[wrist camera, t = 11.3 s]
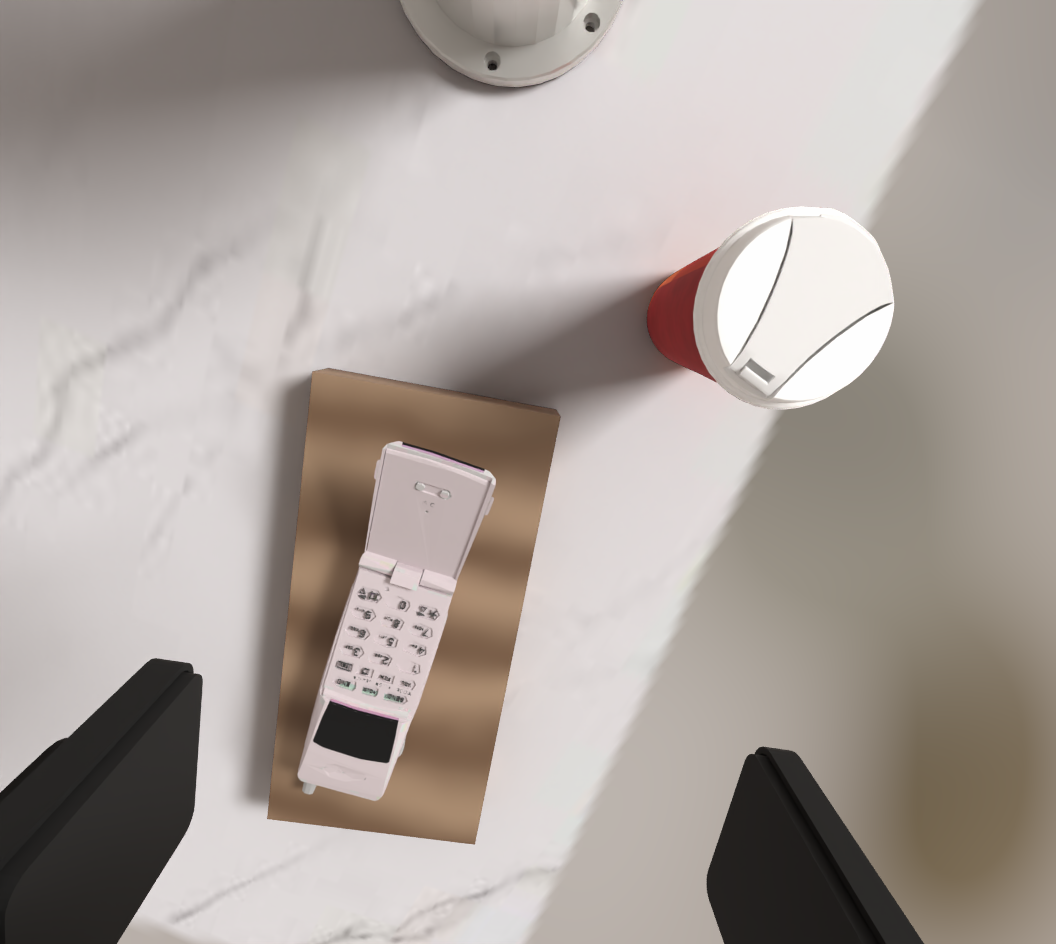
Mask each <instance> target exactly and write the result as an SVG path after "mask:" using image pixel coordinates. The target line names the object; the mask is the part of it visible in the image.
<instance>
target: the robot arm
mask: <svg viewBox="0 0 1056 944" xmlns="http://www.w3.org/2000/svg"><path fill="white" fill-rule="evenodd" d="M400 2H401V5H402V7H403V10H404V12H405V14H406V16H407V18H408V19H409V21H410V23H411V24H412V26H413V28H414V29H415V31H416V33H417V34H418V36H419V37H420V38H421V39H422V40H423V42H424V43H425V44H426V45H427V46H428V47H429V48H430V50H431V51H432V52H433V53H434V54H435V55H436V56H437V57H439V58H440V59H441V60H442V61H444V62H445V63H446V64H447V65H449V66H450V67H451V68H453V69H454V70H456V71H458V72H460V73H462V74H464V75H466V76H468V77H470V78H471V79H473V80H477V81H480V82H484V83H487V84H491V85H494V86H506V87H522V86H529V85H535V84H540V83H543V82H546V81H548V80H551V79H553V78H556V77H559V76H561V75H562V74H564V73H566V72H567V71H569V70H570V69H572V68H573V67H575V66H576V65H578V64H580V63H581V62H582V61H583V60H584V59H585V58H586V57H587V56H588V55H589V54H590V53H591V52H592V51H593V50H594V49H595V48H596V47H597V46H598V44H599V43H600V42H601V40H602V39H603V37H604V36H605V35H606V33H607V32H608V30H609V29H610V28H611V26H612V24H613V21H614V19H615V17H616V15H617V13H618V11H619V9H620V7H621V5H622V2H623V0H400ZM587 26H591V27H593V29H594V32H589V31H587V30H586V29H585V28H586V27H587ZM493 63H494V64H495V65H496V66H497V69H496V70H489V69H488V66H489V65H490V64H493ZM202 684H203V681H202V676H201V675H200V674H194V673H193V667H192V665H191V664H190V663H184V662H177V661H170V660H163V659H157V658H155V659H151V660H150V661H148V662H147V663H146V664H145V665H144V666H143V667H142V668H141V669H140V670H139V671H137V672H136V673H135V674H134V675H133V676H132V677H131V678H130V679H129V680H128V681H127V682H126V683H125V684H124V685H123V686H122V687H121V688H120V689H119V690H118V691H117V692H116V693H114V694H113V695H112V696H111V697H110V698H109V699H108V700H107V701H106V702H105V703H104V704H103V705H102V706H101V707H100V708H99V709H98V710H97V711H96V712H95V713H94V714H92V715H91V716H90V717H89V718H88V719H87V720H86V721H85V722H84V723H83V724H82V725H81V726H80V727H79V728H78V729H77V730H76V731H75V732H74V733H73V734H72V735H71V736H69V737H68V738H64V739H61V740H59V741H57V742H55V743H54V744H53V745H51V746H50V747H49V748H47V749H46V750H45V751H44V752H43V753H42V754H41V755H40V756H39V757H38V758H37V759H36V760H35V761H34V762H32V763H31V764H30V765H29V766H28V767H27V768H26V769H25V770H24V771H23V772H22V773H21V774H20V775H19V776H17V777H16V778H15V779H14V780H13V781H12V782H11V783H10V784H9V785H8V786H7V787H6V788H5V789H4V790H3V791H1V792H0V944H117V942H118V941H119V939H120V938H121V936H122V934H123V933H124V931H125V930H126V928H127V926H128V925H129V923H130V922H131V920H132V918H133V917H134V915H135V914H136V912H137V910H138V909H139V907H140V906H141V904H142V902H143V901H144V899H145V898H146V896H147V894H148V893H149V891H150V890H151V888H152V886H153V885H154V883H155V882H156V880H157V878H158V877H159V875H160V874H161V872H162V870H163V869H164V867H165V866H166V864H167V862H168V861H169V859H170V858H171V856H172V854H173V853H174V851H175V850H176V848H177V846H178V845H179V843H180V842H181V840H182V838H183V837H184V835H185V833H186V831H187V829H188V827H189V825H190V822H191V819H192V816H193V812H194V806H195V791H196V776H197V760H198V745H199V730H200V715H201V699H202ZM707 893H708V897H709V901H710V903H711V907H712V909H713V912H714V915H715V918H716V921H717V924H718V927H719V930H720V933H721V935H722V938H723V941H724V944H924V943H923V941H922V940H921V939H920V937H919V936H918V934H917V932H916V931H915V929H914V928H913V926H912V925H911V923H910V922H909V920H908V919H907V917H906V916H905V915H904V913H903V911H902V910H901V908H900V907H899V905H898V904H897V903H896V901H895V899H894V898H893V896H892V895H891V893H890V892H889V891H888V889H887V887H886V886H885V885H884V883H883V881H882V880H881V878H880V877H879V876H878V874H877V873H876V871H875V869H874V868H873V866H872V865H871V863H870V862H869V860H868V859H867V858H866V856H865V854H864V853H863V851H862V850H861V848H860V847H859V845H858V844H857V843H856V841H855V840H854V838H853V836H852V835H851V833H850V832H849V831H848V829H847V827H846V826H845V824H844V823H843V821H842V820H841V819H840V817H839V815H838V814H837V813H836V811H835V809H834V808H833V806H832V805H831V804H830V802H829V800H828V799H827V797H826V796H825V794H824V793H823V792H822V790H821V788H820V787H819V785H818V784H817V782H816V781H815V779H814V778H813V776H812V775H811V773H810V772H809V770H808V769H807V767H806V766H805V764H804V763H803V761H802V760H801V758H800V757H799V756H798V755H797V754H796V753H795V752H793V751H789V750H782V749H776V748H769V747H760V748H758V749H757V750H756V752H755V754H750V755H748V756H747V758H746V760H745V762H744V765H743V768H742V771H741V774H740V777H739V780H738V783H737V786H736V789H735V792H734V795H733V798H732V801H731V804H730V807H729V810H728V813H727V816H726V819H725V822H724V825H723V828H722V831H721V834H720V837H719V840H718V843H717V846H716V849H715V852H714V855H713V858H712V861H711V864H710V867H709V870H708V874H707Z"/></svg>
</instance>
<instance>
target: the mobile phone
mask: <svg viewBox="0 0 1056 944" xmlns="http://www.w3.org/2000/svg"><path fill="white" fill-rule="evenodd" d="M374 479H376V482H375V488H374V495H373V501H372V507H371V514H370V520H369V527H368V533H367V540H366V546H365V552H364V554H363V555H362V557H361V559H360V562H359V569H358V572H357V575H356V578H355V581H354V583H353V585H352V587H351V590H350V593H349V596H348V599H347V602H346V605H345V608H344V611H343V614H342V617H341V620H340V623H339V626H338V629H337V632H336V635H335V638H334V642H333V645H332V648H331V651H330V654H329V657H328V660H327V663H326V667H325V670H324V673H323V676H322V679H321V683H320V687H319V690H318V694H317V698H316V702H315V705H314V709H313V713H312V716H311V721H310V725H309V729H308V733H307V736H306V740H305V743H304V750H303V753H302V757H301V761H300V765H299V768H298V774H297V775H298V778H299V779H300V780H301V781H303V782H304V783H303V789H302V791H303V792H304V793H306V794H313V792H314V790H315V788H316V785H317V786H321V787H325V788H328V789H332V790H336V791H340V792H343V793H347V794H351V795H354V796H358V797H362V798H365V799H369V800H373V801H376V800H379V799H380V798H381V797H382V796H383V794H384V792H385V790H386V787H387V785H388V782H389V780H390V777H391V774H392V772H393V769H394V766H395V764H396V761H397V758H398V757H399V756H401V754H402V752H403V749H404V746H405V739H406V735H407V732H408V729H409V726H410V724H411V721H412V719H413V717H414V715H415V712H416V710H417V707H418V705H419V702H420V699H421V696H422V693H423V690H424V687H425V684H426V681H427V678H428V675H429V672H430V669H431V666H432V663H433V660H434V657H435V654H436V651H437V648H438V645H439V642H440V639H441V636H442V632H443V629H444V626H445V623H446V620H447V616H448V609H449V606H450V603H451V599H452V596H453V593H454V591H455V588H456V583H457V579H458V577H459V574H460V572H461V570H462V567H463V565H464V562H465V560H466V558H467V555H468V553H469V551H470V548H471V546H472V543H473V541H474V539H475V536H476V534H477V531H478V529H479V527H480V524H481V522H482V519H483V518H484V515H488V513H489V511H490V509H491V506H492V504H493V501H494V498H493V497H491V496H492V494H493V491H494V488H495V485H496V479H495V478H494V476H493V475H492V474H491V472H489V471H487V470H486V469H484V468H481V467H478V466H475V465H472V464H469V463H467V462H464V461H461V460H458V459H455V458H453V457H450V456H447V455H444V454H441V453H439V452H436V451H432V450H429V449H425V448H422V447H418V446H415V445H411V444H408V443H404V442H400V441H396V442H392V443H389V444H386V446H385V447H384V448H383V449H382V454H381V459H380V460H378V461H377V463H376V468H375V474H374ZM488 504H489V505H488ZM369 533H370V537H369ZM368 538H369V542H368ZM367 543H368V547H367ZM366 548H367V550H366Z"/></svg>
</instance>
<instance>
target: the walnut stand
mask: <svg viewBox="0 0 1056 944" xmlns="http://www.w3.org/2000/svg"><path fill="white" fill-rule="evenodd" d="M559 422H560V415H559V413H558V412H557V410H556V409H550V408H545V407H539V406H534V405H528V404H523V403H517V402H512V401H506V400H501V399H495V398H490V397H484V396H479V395H473V394H468V393H462V392H457V391H451V390H446V389H441V388H435V387H430V386H424V385H419V384H413V383H408V382H402V381H397V380H391V379H386V378H380V377H375V376H369V375H364V374H358V373H353V372H347V371H342V370H336V369H331V368H326V369H322V370H318V371H313V372H312V381H311V391H310V401H309V411H308V421H307V431H306V440H305V450H304V460H303V470H302V480H301V490H300V500H299V510H298V519H297V529H296V539H295V549H294V559H293V569H292V579H291V589H290V599H289V608H288V618H287V628H286V638H285V648H284V658H283V668H282V678H281V687H280V697H279V707H278V717H277V727H276V737H275V747H274V757H273V767H272V776H271V786H270V796H269V806H268V816H267V819H272V820H280V821H288V822H296V823H305V824H313V825H321V826H329V827H337V828H345V829H353V830H361V831H369V832H377V833H386V834H394V835H402V836H410V837H418V838H426V839H434V840H442V841H450V842H458V843H467V844H475V841H476V836H477V831H478V826H479V821H480V816H481V811H482V806H483V801H484V796H485V791H486V786H487V781H488V776H489V771H490V766H491V761H492V756H493V751H494V746H495V741H496V736H497V731H498V726H499V721H500V716H501V711H502V706H503V701H504V696H505V691H506V686H507V681H508V676H509V671H510V666H511V661H512V656H513V651H514V646H515V641H516V636H517V631H518V626H519V621H520V616H521V611H522V606H523V601H524V596H525V591H526V586H527V581H528V576H529V571H530V566H531V561H532V556H533V551H534V547H535V542H536V537H537V532H538V527H539V522H540V517H541V512H542V507H543V502H544V497H545V492H546V487H547V482H548V477H549V472H550V467H551V462H552V457H553V452H554V447H555V442H556V437H557V432H558V427H559ZM396 441H400V442H404V443H408V444H411V445H415V446H418V447H422V448H425V449H429V450H432V451H436V452H439V453H441V454H444V455H447V456H450V457H453V458H455V459H458V460H461V461H464V462H467V463H469V464H472V465H475V466H478V467H481V468H484V469H486V470H487V471H489V472H491V474H492V475H493V476H494V478H495V479H496V485H495V488H494V491H493V494H492V496H491V497H493V498H494V501H493V504H492V506H491V509H490V511H489V513H488V515H484V518H483V519H482V522H481V524H480V527H479V529H478V531H477V534H476V536H475V539H474V541H473V543H472V546H471V548H470V551H469V553H468V555H467V558H466V560H465V562H464V565H463V567H462V570H461V572H460V574H459V577H458V579H457V583H456V588H455V591H454V593H453V596H452V599H451V603H450V606H449V609H448V616H447V620H446V623H445V626H444V629H443V632H442V636H441V639H440V642H439V645H438V648H437V651H436V654H435V657H434V660H433V663H432V666H431V669H430V672H429V675H428V678H427V681H426V684H425V687H424V690H423V693H422V696H421V699H420V702H419V705H418V707H417V710H416V712H415V715H414V717H413V719H412V721H411V724H410V726H409V729H408V732H407V735H406V739H405V746H404V749H403V752H402V754H401V756H399V757H398V758H397V761H396V764H395V766H394V769H393V772H392V774H391V777H390V780H389V782H388V785H387V787H386V790H385V792H384V794H383V796H382V797H381V798H380V799H379V800H376V801H373V800H369V799H365V798H362V797H358V796H354V795H351V794H347V793H343V792H340V791H336V790H332V789H328V788H325V787H321V786H317V785H316V788H315V790H314V792H313V794H306V793H304V792H303V791H302V789H303V783H304V782H303V781H301V780H300V779H299V778H298V775H297V774H298V768H299V765H300V761H301V757H302V753H303V750H304V743H305V740H306V736H307V733H308V729H309V725H310V721H311V716H312V713H313V709H314V705H315V702H316V698H317V694H318V690H319V687H320V683H321V679H322V676H323V673H324V670H325V667H326V663H327V660H328V657H329V654H330V651H331V648H332V645H333V642H334V638H335V635H336V632H337V629H338V626H339V623H340V620H341V617H342V614H343V611H344V608H345V605H346V602H347V599H348V596H349V593H350V590H351V587H352V585H353V583H354V581H355V578H356V575H357V572H358V569H359V562H360V559H361V557H362V555H363V554H364V552H365V546H366V540H367V533H368V527H369V520H370V514H371V507H372V501H373V495H374V488H375V482H376V479H374V474H375V468H376V463H377V461H378V460H380V459H381V454H382V449H383V448H384V447H385V446H386V444H389V443H392V442H396ZM488 505H489V504H488ZM369 537H370V533H369ZM368 542H369V538H368ZM367 547H368V543H367ZM366 550H367V548H366Z"/></svg>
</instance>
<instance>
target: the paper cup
mask: <svg viewBox="0 0 1056 944" xmlns="http://www.w3.org/2000/svg"><path fill="white" fill-rule="evenodd" d="M893 311H894V298H893V292H892V284H891V279H890V275H889V270H888V267H887V265H886V262H885V260H884V258H883V255H882V254H881V251H880V248H879V246H878V244H877V242H876V241H875V239H874V238H873V236H872V235H871V234H870V233H869V232H868V231H867V230H865V229H864V228H863V227H862V226H860V224H859V223H857V222H856V221H854V220H853V219H851V218H850V217H849V216H847V215H846V214H844V213H841V212H839V211H837V210H835V209H833V208H811V207H791V208H782V209H779V210H775V211H771V212H768V213H766V214H763V215H761V216H759V217H757V218H755V219H752V220H751V221H749V222H748V223H746V224H745V225H743V226H742V227H740V228H738V229H737V230H736V231H735V232H734V233H733V234H732V235H731V236H729V237H728V238H727V239H726V240H725V241H724V242H723V244H722V245H721V246H720V247H719V248H717V249H715V250H714V251H712V252H710V253H708V254H706V255H705V256H703V257H701V258H699V259H698V260H696V261H694V262H692V263H691V264H689V265H687V266H686V267H684V268H682V269H680V270H679V271H677V272H676V273H674V274H673V275H671V276H670V277H669V278H667V279H666V280H665V281H664V282H663V283H662V284H661V285H660V286H659V287H658V289H657V290H656V291H655V293H654V295H653V297H652V299H651V301H650V304H649V307H648V312H647V327H648V332H649V335H650V338H651V340H652V342H653V343H654V345H655V347H656V348H657V349H658V350H659V351H660V352H661V353H662V354H663V355H664V356H665V357H667V358H668V359H670V360H672V361H673V362H675V363H677V364H679V365H681V366H684V367H686V368H688V369H690V370H692V371H694V372H697V373H699V374H701V375H703V376H705V377H707V378H709V379H711V380H713V381H715V382H717V383H718V384H719V385H720V386H721V387H723V388H724V389H725V390H726V391H727V392H728V393H730V394H731V395H733V396H735V397H736V398H738V399H739V400H741V401H744V402H746V403H749V404H751V405H754V406H758V407H763V408H767V409H790V408H798V407H802V406H806V405H810V404H813V403H815V402H818V401H820V400H822V399H824V398H827V397H828V396H830V395H831V394H833V393H835V392H836V391H838V390H840V389H841V388H843V387H845V386H846V385H848V384H849V383H851V382H852V381H853V380H854V379H855V378H857V377H858V376H859V375H860V374H861V373H862V372H863V371H864V370H865V369H866V368H867V367H868V366H869V365H870V364H871V362H872V361H873V359H874V358H875V356H876V355H877V353H878V352H879V351H880V349H881V347H882V345H883V343H884V341H885V339H886V337H887V334H888V331H889V328H890V325H891V321H892V316H893Z"/></svg>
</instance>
